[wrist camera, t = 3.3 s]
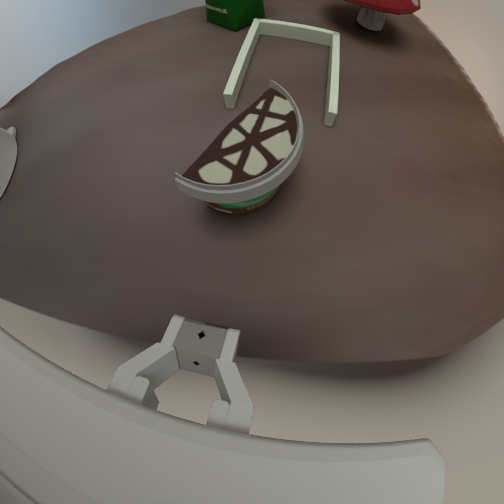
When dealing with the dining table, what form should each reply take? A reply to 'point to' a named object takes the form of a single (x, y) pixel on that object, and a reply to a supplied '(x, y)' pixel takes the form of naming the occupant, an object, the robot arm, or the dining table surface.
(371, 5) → the decorative mushroom
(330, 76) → the pale green u-shaped frame
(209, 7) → the milk carton
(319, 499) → the robot arm
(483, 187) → the dining table surface
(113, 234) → the dining table surface
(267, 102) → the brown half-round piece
